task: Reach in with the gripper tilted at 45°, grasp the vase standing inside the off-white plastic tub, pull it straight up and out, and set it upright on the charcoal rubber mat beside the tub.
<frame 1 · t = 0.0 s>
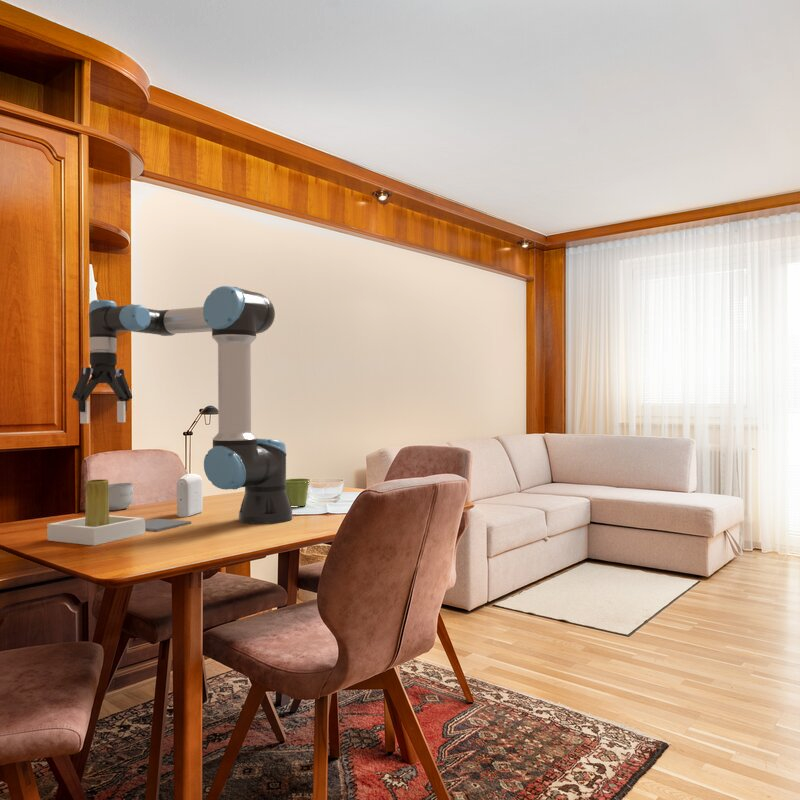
hand: (103, 422, 205), 28 cm above the table, tool pointing down, fingers open, 13 cm apart
teacup: (117, 509, 221), on the table
photo printer: (190, 515, 207), on the table
vase: (97, 537, 172), resting in tub
mat: (156, 525, 188), on the table
plant pot: (296, 507, 222), on the table
tub: (97, 536, 172), on the table
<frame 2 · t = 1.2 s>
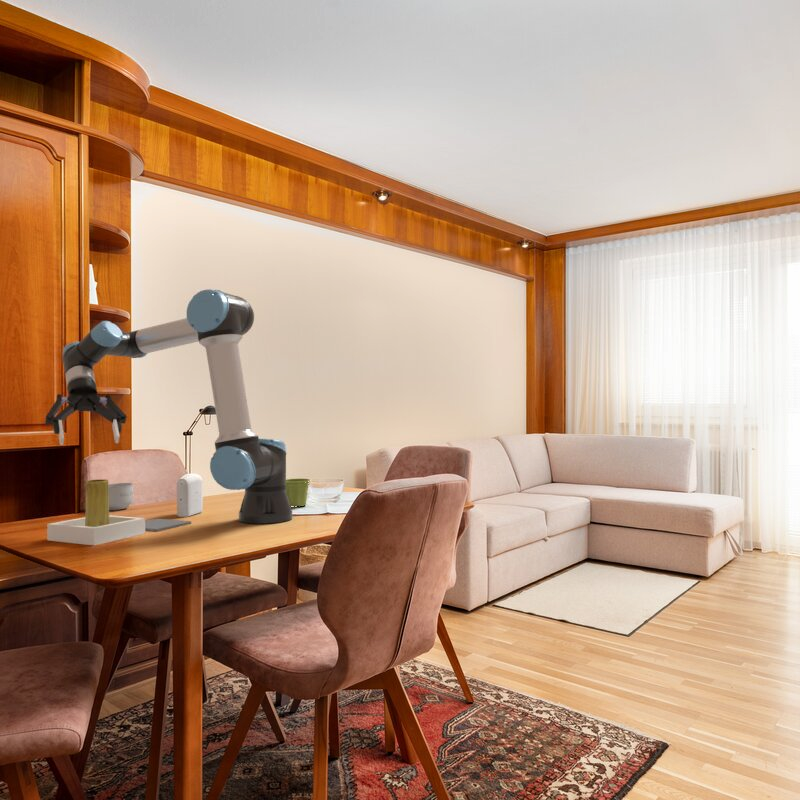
hand: (90, 440, 182), 24 cm above the table, tool tilted 45°, fingers open, 13 cm apart
nothing on the table moved.
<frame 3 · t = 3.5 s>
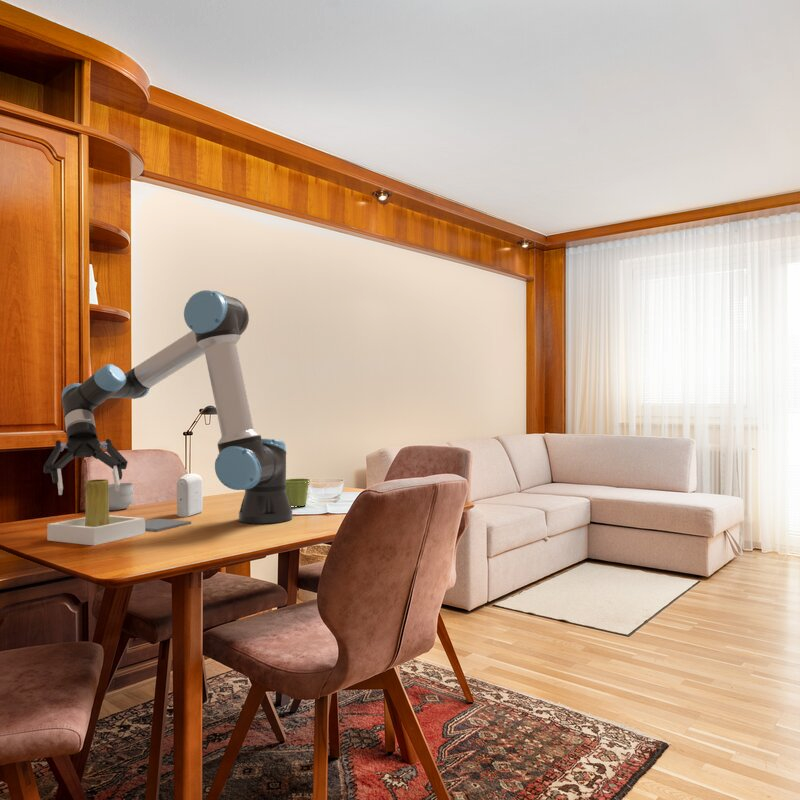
hand: (90, 489, 176), 11 cm above the table, tool tilted 45°, fingers open, 13 cm apart
nothing on the table moved.
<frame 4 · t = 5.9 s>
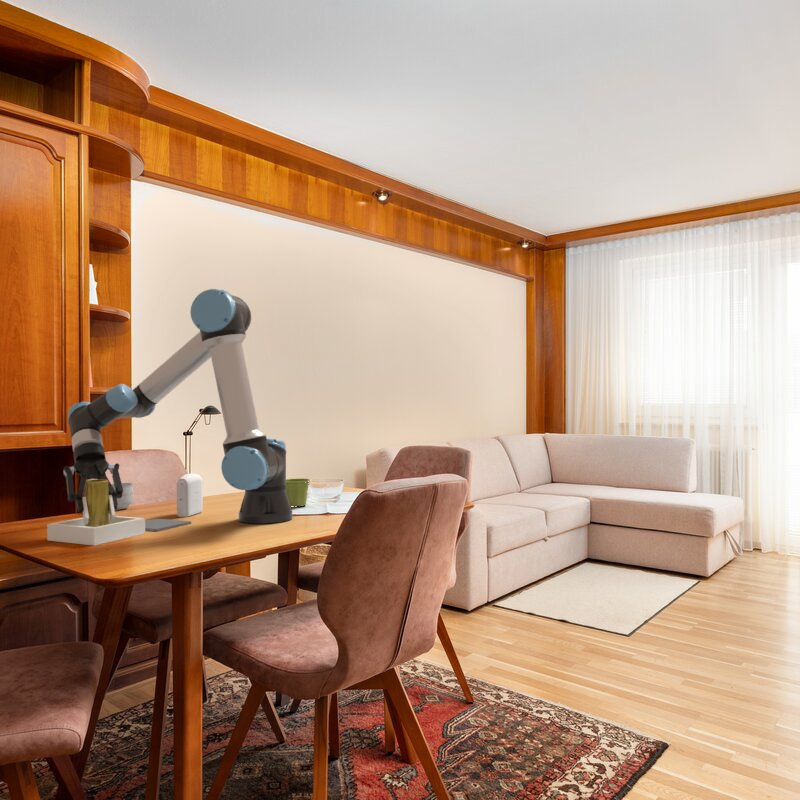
hand: (100, 519, 169), 5 cm above the table, tool tilted 45°, fingers closed on vase, 5 cm apart
vase: (97, 537, 172), resting in tub, touching gripper
everything else where it was.
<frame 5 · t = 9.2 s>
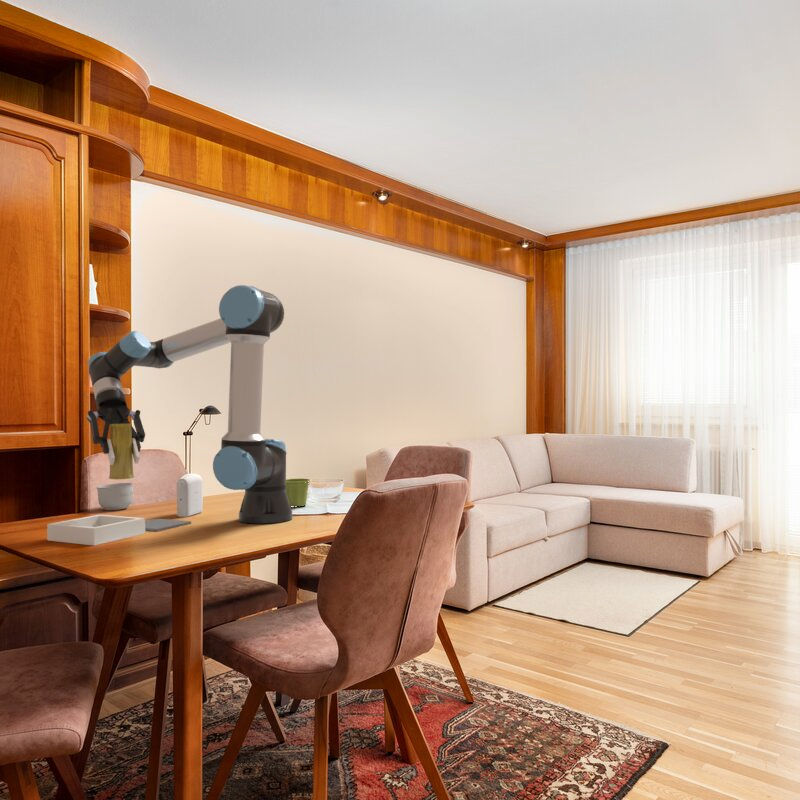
hand: (125, 460, 176), 19 cm above the table, tool tilted 45°, fingers closed on vase, 5 cm apart
vase: (121, 478, 179), point 14 cm above the table, touching gripper
everything else where it was.
when the fingers open (7 cm above the table, at t = 12.5 s): vase drops 1 cm, resting on mat.
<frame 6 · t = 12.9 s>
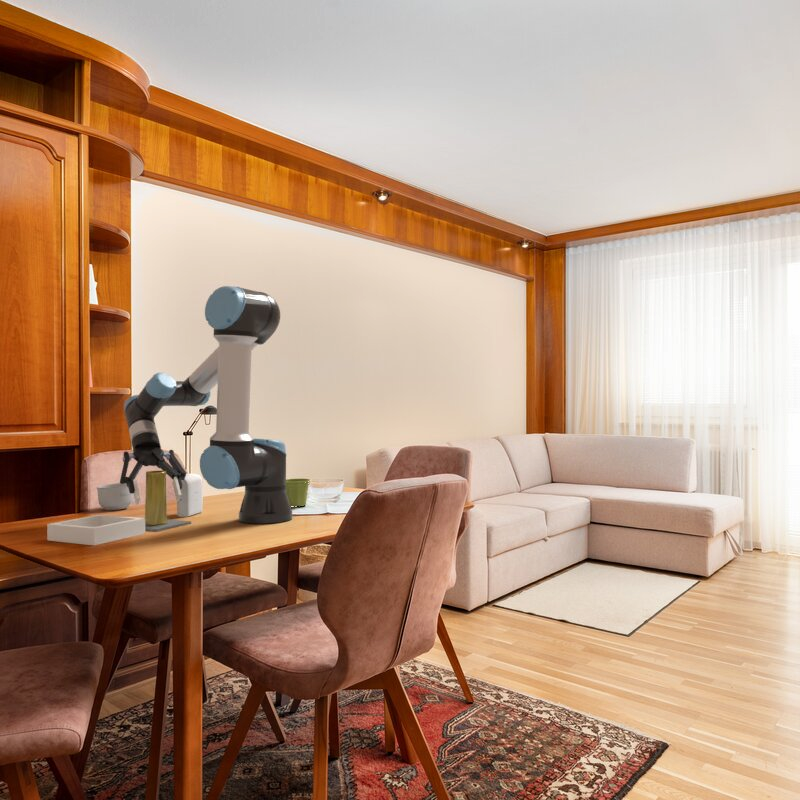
hand: (158, 499, 185), 8 cm above the table, tool tilted 45°, fingers open, 10 cm apart
vase: (156, 524, 188), resting on mat
everything else where it was.
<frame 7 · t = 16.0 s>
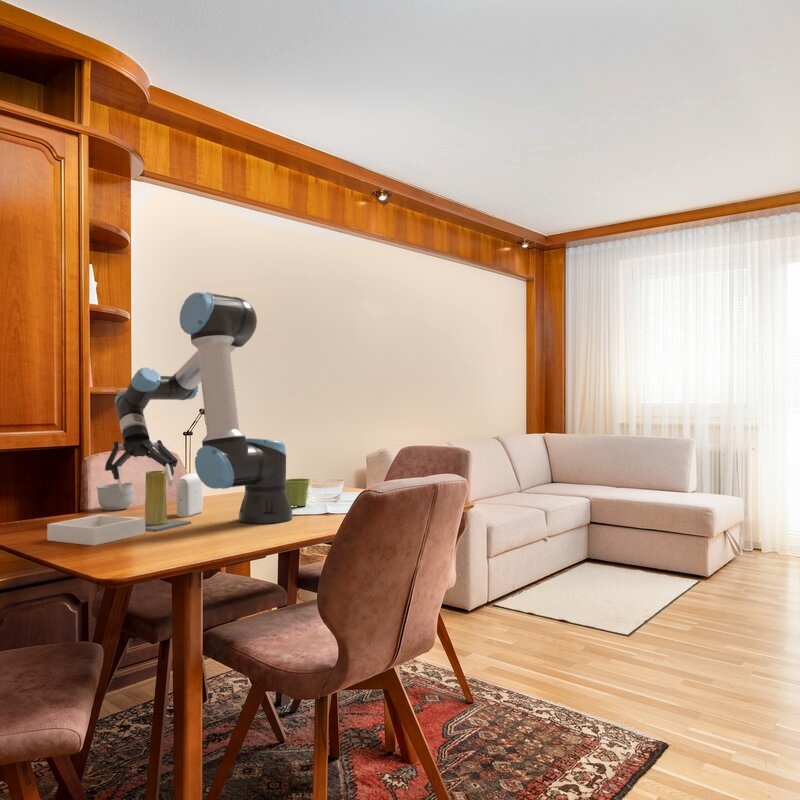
hand: (146, 485, 197), 10 cm above the table, tool tilted 45°, fingers open, 13 cm apart
nothing on the table moved.
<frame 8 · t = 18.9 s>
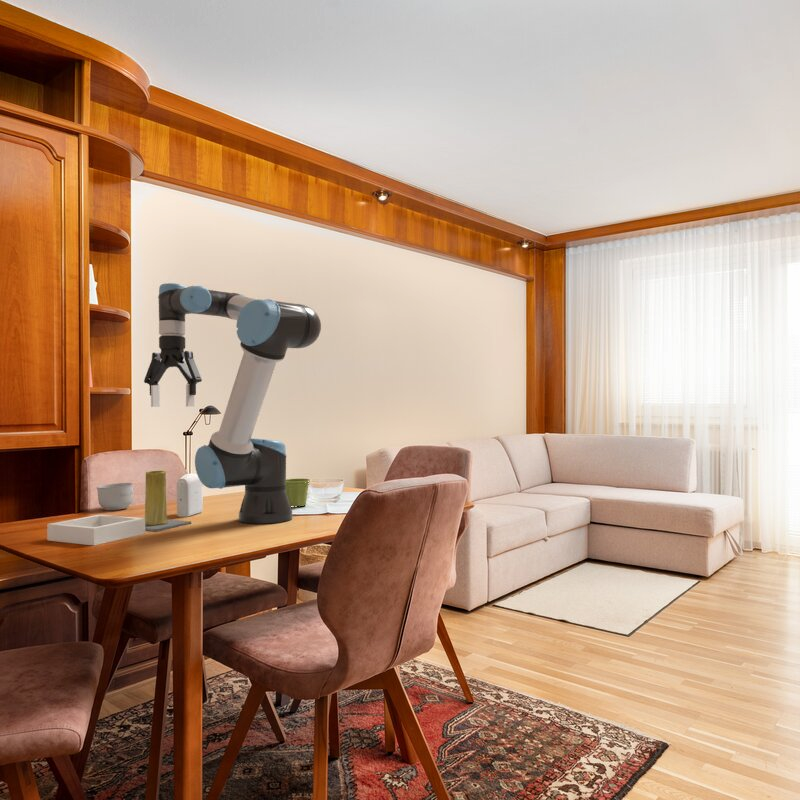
hand: (172, 406, 205), 33 cm above the table, tool pointing down, fingers open, 13 cm apart
nothing on the table moved.
at the end: vase inside the target area on the mat (0.1 cm from its centre), point 0.4 cm above the mat's base; vase tilted 0°; the gripper is holding nothing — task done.
